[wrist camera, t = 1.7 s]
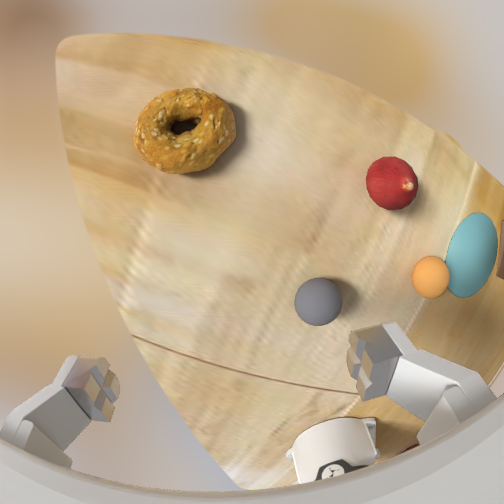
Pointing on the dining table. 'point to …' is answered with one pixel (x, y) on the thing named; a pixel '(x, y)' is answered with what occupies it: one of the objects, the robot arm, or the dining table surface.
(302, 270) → the dining table surface
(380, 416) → the dining table surface
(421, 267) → the orange ball
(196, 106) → the bagel
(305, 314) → the grey rubber ball
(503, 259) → the wall
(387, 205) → the onion
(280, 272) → the dining table surface
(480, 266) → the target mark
